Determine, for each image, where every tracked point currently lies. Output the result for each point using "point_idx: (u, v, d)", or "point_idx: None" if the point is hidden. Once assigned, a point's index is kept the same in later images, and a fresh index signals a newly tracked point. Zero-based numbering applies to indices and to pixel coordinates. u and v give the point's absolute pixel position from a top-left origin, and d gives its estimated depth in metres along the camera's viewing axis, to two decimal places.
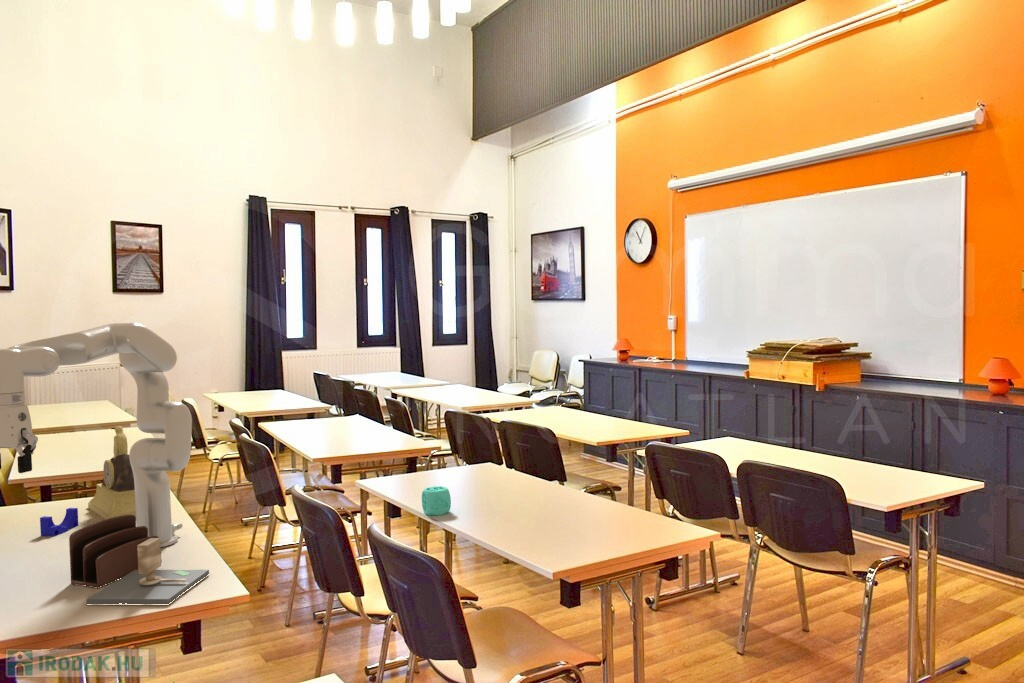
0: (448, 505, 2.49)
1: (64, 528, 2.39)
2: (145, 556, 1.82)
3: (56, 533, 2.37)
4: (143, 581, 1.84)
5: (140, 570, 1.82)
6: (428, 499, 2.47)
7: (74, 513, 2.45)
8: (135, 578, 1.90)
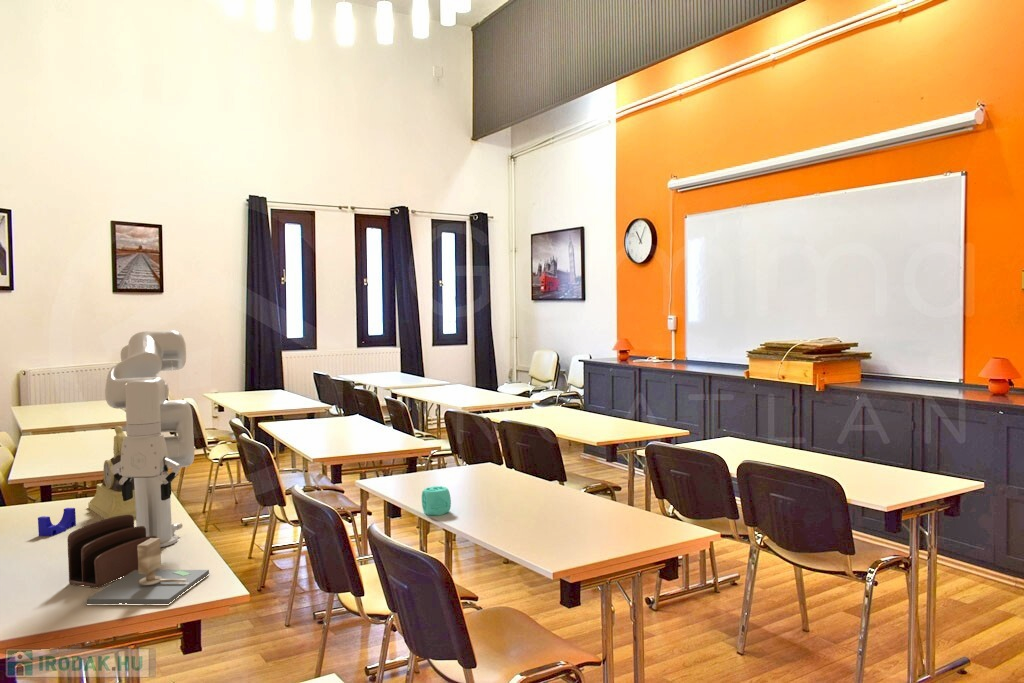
0: (448, 505, 2.49)
1: (62, 528, 2.39)
2: (145, 556, 1.82)
3: (54, 533, 2.37)
4: (143, 581, 1.84)
5: (140, 570, 1.82)
6: (428, 499, 2.47)
7: (72, 513, 2.45)
8: (135, 578, 1.90)
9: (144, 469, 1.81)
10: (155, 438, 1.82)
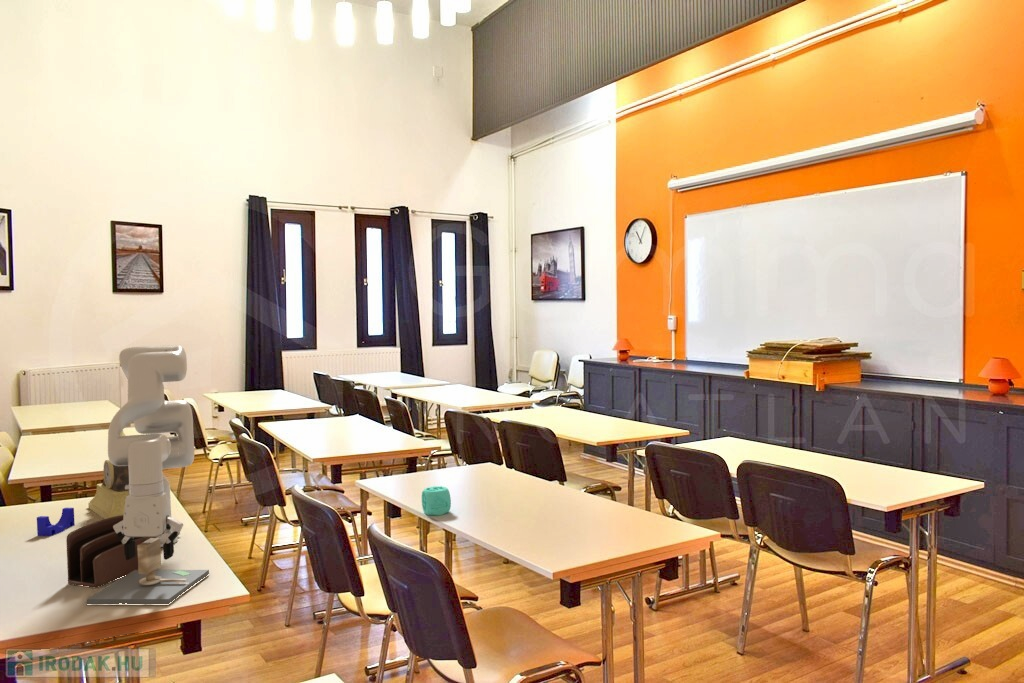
0: (448, 505, 2.49)
1: (61, 528, 2.39)
2: (145, 556, 1.82)
3: (53, 533, 2.37)
4: (143, 581, 1.84)
5: (140, 570, 1.82)
6: (428, 499, 2.47)
7: (70, 513, 2.46)
8: (135, 578, 1.90)
9: (147, 529, 1.82)
10: (158, 498, 1.82)
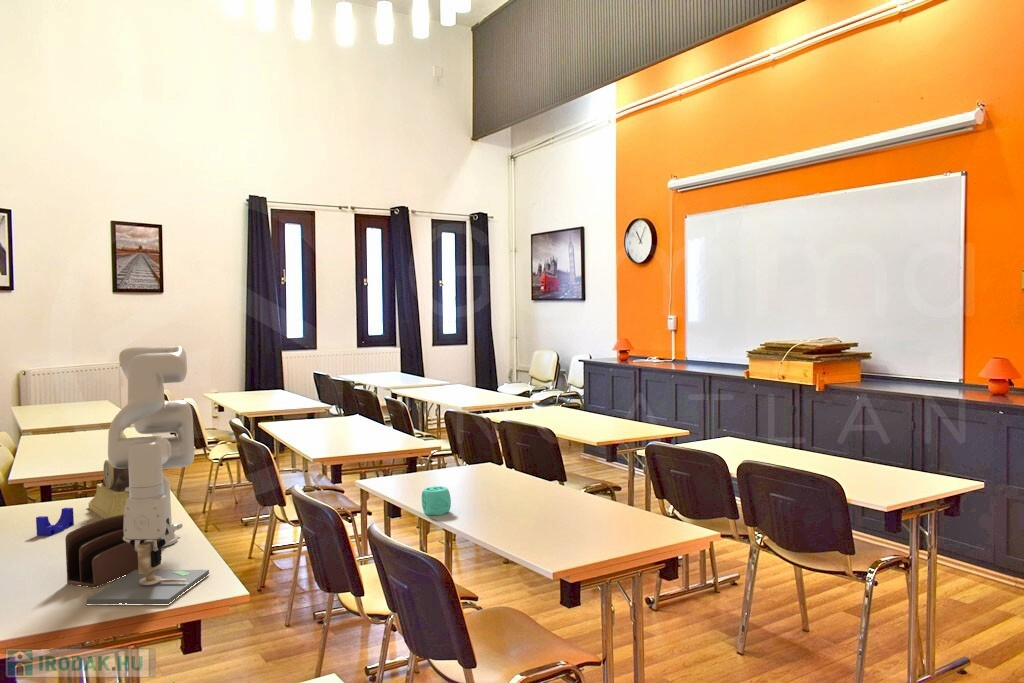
0: (448, 505, 2.49)
1: (60, 528, 2.40)
2: (145, 556, 1.82)
3: (52, 533, 2.37)
4: (143, 581, 1.84)
5: (140, 570, 1.82)
6: (428, 499, 2.47)
7: (70, 513, 2.46)
8: (135, 578, 1.90)
9: (147, 531, 1.82)
10: (158, 501, 1.82)
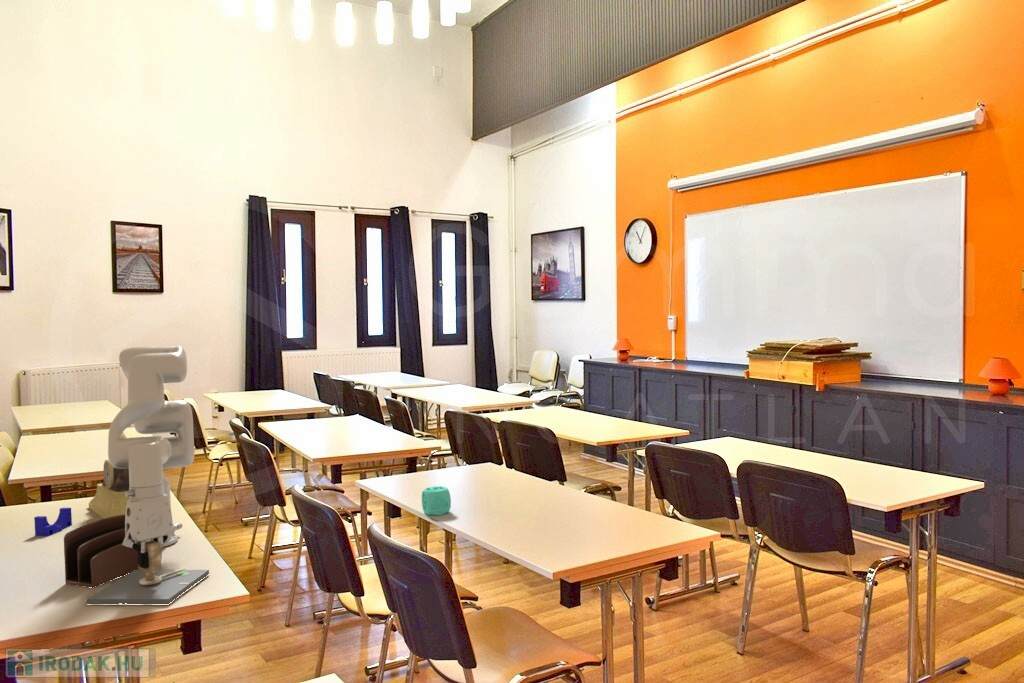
0: (448, 505, 2.49)
1: (58, 528, 2.40)
2: (159, 553, 1.84)
3: (51, 533, 2.37)
4: (150, 581, 1.84)
5: (154, 568, 1.83)
6: (428, 499, 2.47)
7: (68, 513, 2.46)
8: (135, 578, 1.90)
9: (160, 528, 1.84)
10: (167, 496, 1.87)
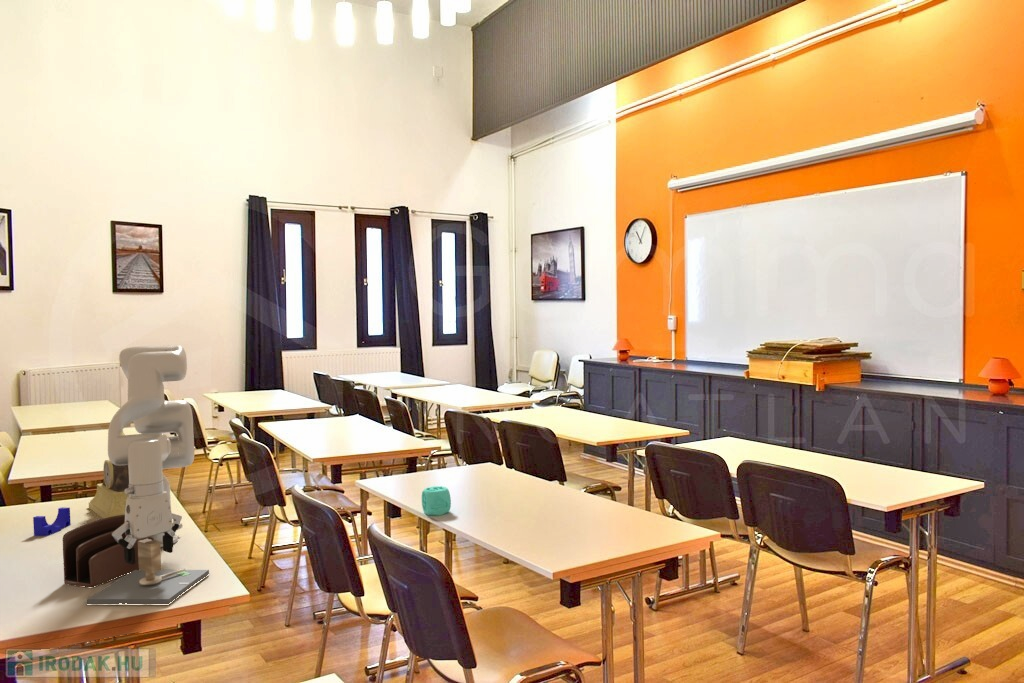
0: (448, 505, 2.49)
1: (57, 527, 2.40)
2: (158, 553, 1.84)
3: (49, 532, 2.37)
4: (150, 581, 1.84)
5: (154, 568, 1.83)
6: (428, 499, 2.47)
7: (66, 513, 2.46)
8: (135, 578, 1.90)
9: (159, 526, 1.85)
10: (167, 493, 1.87)
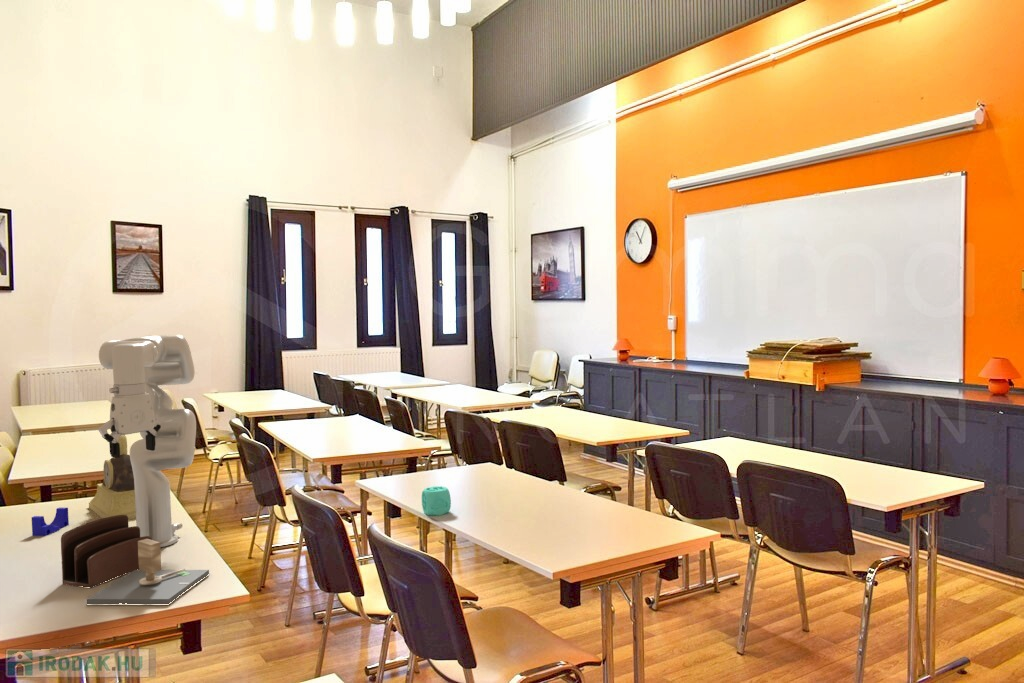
0: (448, 505, 2.49)
1: (56, 527, 2.40)
2: (158, 553, 1.84)
3: (48, 532, 2.37)
4: (150, 581, 1.84)
5: (154, 568, 1.83)
6: (428, 499, 2.47)
7: (64, 513, 2.46)
8: (135, 578, 1.90)
9: (142, 424, 1.99)
10: (149, 395, 2.01)
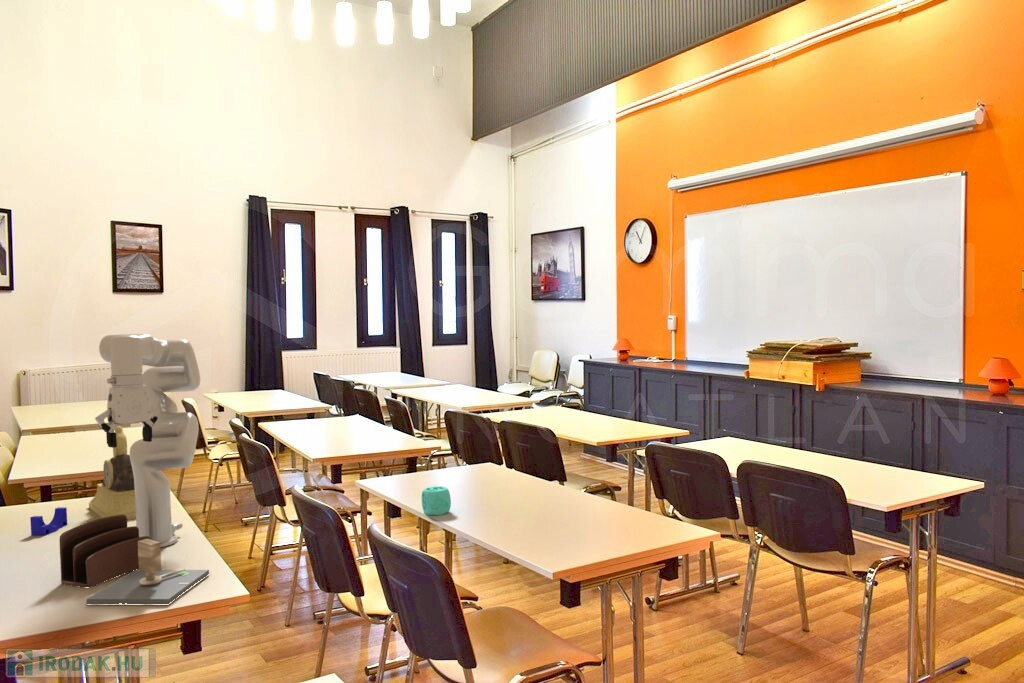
0: (448, 505, 2.49)
1: (54, 527, 2.40)
2: (158, 553, 1.84)
3: (47, 532, 2.38)
4: (150, 581, 1.84)
5: (154, 568, 1.83)
6: (428, 499, 2.47)
7: (63, 512, 2.46)
8: (135, 578, 1.90)
9: (139, 414, 2.02)
10: (146, 386, 2.05)
